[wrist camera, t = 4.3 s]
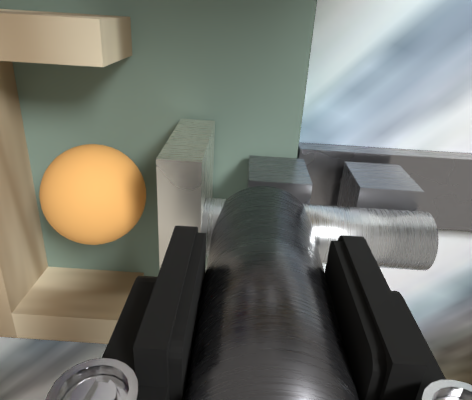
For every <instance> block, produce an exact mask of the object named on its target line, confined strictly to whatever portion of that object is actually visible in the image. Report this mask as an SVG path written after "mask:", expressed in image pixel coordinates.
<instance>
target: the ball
mask: <svg viewBox="0 0 472 400" xmlns="http://www.w3.org/2000/svg"><path fill="white" fill-rule="evenodd" d="M39 198H40V204H41V208H42V211H43V214H44V216H45V217H46V219H47V221H48V222H49V224H50V225H51V226H52V227H53V228H54V229H55V230H56V231H57V232H58V233H59V234H60V235H62V236H64V237H65V238H67V239H69V240H71V241H74V242H77V243H81V244H87V245H99V244H105V243H109V242H112V241H115V240H117V239H119V238H121V237H122V236H124V235H125V234H127V233H128V232H129V231H130V230H131V229H132V228H133V227H134V226H135V225H136V224H137V222H138V221H139V219H140V217H141V215H142V213H143V211H144V207H145V203H146V186H145V182H144V179H143V176H142V174H141V172H140V170H139V169H138V167H137V166H136V165H135V163H134V162H133V161H132V160H131V159H130V158H129V157H128V156H126V155H125V154H124V153H122V152H120V151H119V150H117V149H114V148H112V147H109V146H105V145H98V144H86V145H80V146H76V147H73V148H71V149H69V150H67V151H65V152H63V153H62V154H60V155H59V156H57V157H56V158H55V159H54V160H53V161H52V163H51V164H50V165H49V166H48V168H47V169H46V171H45V173H44V175H43V177H42V180H41V184H40V191H39Z"/></svg>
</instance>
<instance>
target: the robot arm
mask: <svg viewBox="0 0 472 400" xmlns="http://www.w3.org/2000/svg"><path fill="white" fill-rule="evenodd" d="M205 263H206V233H198V227H193V226H175V227H174V230H173V233H172V236H171V239H170V242H169V245H168V248H167V251H166V253H165V256H164V259H163V262H162V265H161V268H160V271H159V274H158V276H157V277H153V276H138V277H137V278H136V279H135V281H134V284H133V286H132V288H131V291H130V293H129V295H128V298H127V300H126V302H125V305H124V307H123V310H122V312H121V314H120V317H119V319H118V321H117V324H116V326H115V328H114V331H113V333H112V335H111V338H110V340H109V343H108V345H107V347H106V350H105V352H104V354H103V357H102V358H100V359H92V360H88V361H85V362H83V363H80V364H77V365H76V366H74V367H72V368H71V369H69V370H68V371H66V372H65V373H64V374H63V375H62V376H61V377H59V378H58V379H57V380H56V381H55V383H54V384H53V386H52V388H51V390H50V391H49V393H48V395H47V398H46V400H183V399H184V393H185V387H186V382H187V376H188V370H189V364H190V358H191V353H192V347H193V341H194V335H195V329H196V324H197V318H198V312H199V306H200V301H201V295H202V289H203V283H204V278H205ZM325 276H326V280H327V284H328V287H329V291H330V295H331V298H332V302H333V306H334V309H335V313H336V317H337V320H338V324H339V328H340V331H341V335H342V339H343V342H344V346H345V350H346V353H347V357H348V360H349V364H350V368H351V371H352V375H353V379H354V382H355V386H356V390H357V393H358V397H359V400H472V385H470V384H468V383H464V382H460V381H456V380H446V379H445V377H444V375H443V373H442V371H441V369H440V367H439V365H438V364H437V362H436V360H435V358H434V356H433V354H432V352H431V350H430V348H429V346H428V344H427V342H426V341H425V339H424V337H423V335H422V333H421V331H420V329H419V327H418V325H417V323H416V321H415V319H414V317H413V316H412V314H411V312H410V310H409V308H408V306H407V304H406V302H405V300H404V298H403V297H402V295H401V294H400V293H399V292H397V291H391V290H390V288H389V286H388V284H387V282H386V280H385V278H384V276H383V274H382V272H381V270H380V268H379V266H378V264H377V262H376V260H375V258H374V256H373V254H372V252H371V250H370V248H369V246H368V243H367V241H366V239H365V238H364V237H362V236H346V235H340V236H339V238H338V241H333V240H332V241H331V243H330V247H329V252H328V258H327V264H326V269H325Z"/></svg>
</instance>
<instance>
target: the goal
mask: <svg viewBox="0 0 472 400" xmlns="http://www.w3.org/2000/svg"><path fill="white" fill-rule="evenodd" d="M130 56H132V39H131V20H130V17H127V16H111V15H94V14H78V13H62V12H45V11H29V10H13V9H0V337H12V338H27V339H42V340H57V341H72V342H87V343H101V344H108V343H109V340H110V338H111V335H112V333H113V331H114V328H115V326H116V324H117V321H118V319H119V317H120V314H121V312H122V310H123V307H124V305H125V302H126V300H127V298H128V295H129V293H130V291H131V288H132V286H133V284H134V281H135V279H136V278H137V277H138V276H144V273H139V272H123V271H108V270H93V269H78V268H63V267H48V263H47V257H46V251H45V246H44V240H43V234H42V228H41V223H40V217H39V211H38V206H37V200H36V194H35V189H34V183H33V177H32V172H31V166H30V160H29V154H28V149H27V143H26V137H25V132H24V126H23V120H22V115H21V109H20V103H19V98H18V92H17V86H16V80H15V75H14V69H13V63H12V62H27V63H43V64H59V65H75V66H92V67H105V66H107V65H110V64H112V63H115V62H117V61H120V60H122V59H125V58H127V57H130Z"/></svg>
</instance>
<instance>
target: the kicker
mask: <svg viewBox="0 0 472 400" xmlns="http://www.w3.org/2000/svg"><path fill="white" fill-rule="evenodd" d="M214 135H215V121H210V120H194V119H181V120H180V121H179V123H178V125H177V126H176V128H175V129H174V131H173V133H172V134H171V136H170V137H169V139H168V141H167V142H166V144H165V145H164V147H163V149H162V150H161V152H160V153H159V155H158V156H157V158H156V174H157V205H158V235H159V266H160V268H161V265H162V262H163V259H164V256H165V253H166V251H167V248H168V245H169V242H170V239H171V236H172V233H173V230H174V227H175V226H193V227H198V233H206V263H205V278H204V283H203V289H202V295H201V301H200V306H199V312H198V318H197V324H196V329H195V335H194V341H193V347H192V353H191V358H190V364H189V370H188V376H187V382H186V387H185V393H184V399H183V400H359V397H358V393H357V390H356V386H355V382H354V379H353V375H352V371H351V368H350V364H349V360H348V357H347V353H346V350H345V346H344V342H343V339H342V335H341V331H340V328H339V324H338V320H337V317H336V313H335V309H334V306H333V302H332V298H331V295H330V291H329V287H328V284H327V280H326V276H325V273H324V269H323V266H322V264H327V258H328V252H329V247H330V243H331V241H332V240H333V241H338V238H339V236H340V235H346V236H362V237H364V238H365V239H366V241H367V243H368V246H369V248H370V250H371V252H372V254H373V256H374V258H375V260H376V262H377V264H378V266H379V267H381V268H396V269H412V270H427V269H429V268H430V267H431V266H432V264H433V262H434V260H435V258H436V254H437V249H438V231H437V226H436V223H435V220H434V218H433V217H432V215H431V214H430V213H428V212H422V211H419V210H420V206H421V203H422V199H423V196H424V191H423V190H422V189H421V188H420V186H419V185H418V184H417V183H416V182H415V181H414V180H413V179H412V178H411V177H410V176H409V175H408V174H407V173H406V171H405V170H404V169H403V168H402V167H401V166H400V165H395V164H379V163H363V162H348V161H345V162H344V168H343V173H342V179H341V184H340V190H339V195H338V201H337V206H329V205H313V204H310V199H311V192H312V185H313V184H312V181H311V179H310V176H309V173H308V170H307V167H306V164H305V161H304V159H301V158H285V157H269V156H253V155H249V166H248V179H247V188H246V189H243V190H240V191H238V192H237V193H235V194H233V195H232V196H230V197H229V198H228V199H220V198H212V196H213V166H214Z"/></svg>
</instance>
